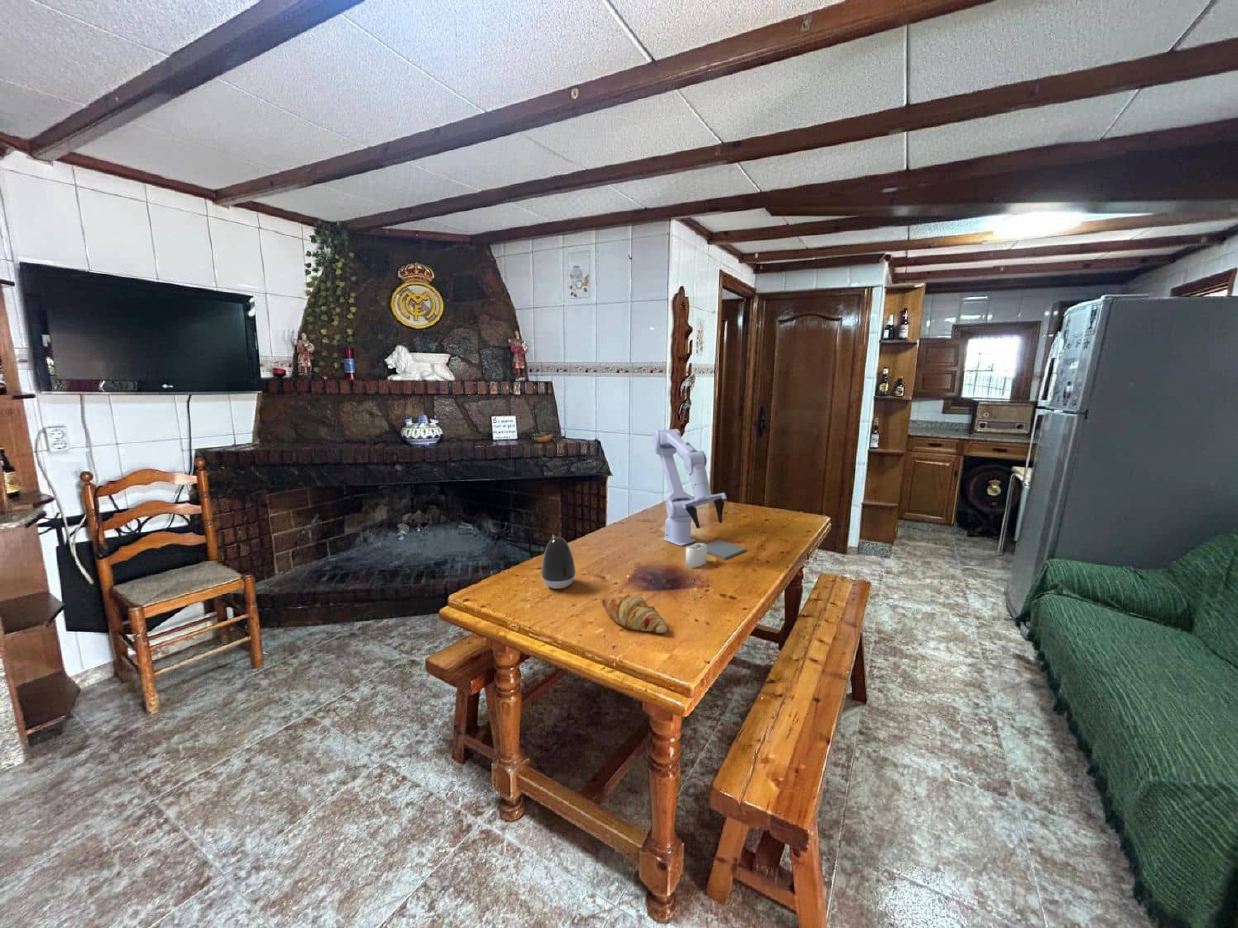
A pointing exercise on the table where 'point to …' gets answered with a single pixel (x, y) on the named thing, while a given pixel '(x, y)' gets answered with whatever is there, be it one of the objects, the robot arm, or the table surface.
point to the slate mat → (724, 549)
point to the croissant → (634, 614)
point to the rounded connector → (696, 555)
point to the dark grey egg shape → (558, 564)
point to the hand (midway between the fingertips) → (709, 525)
